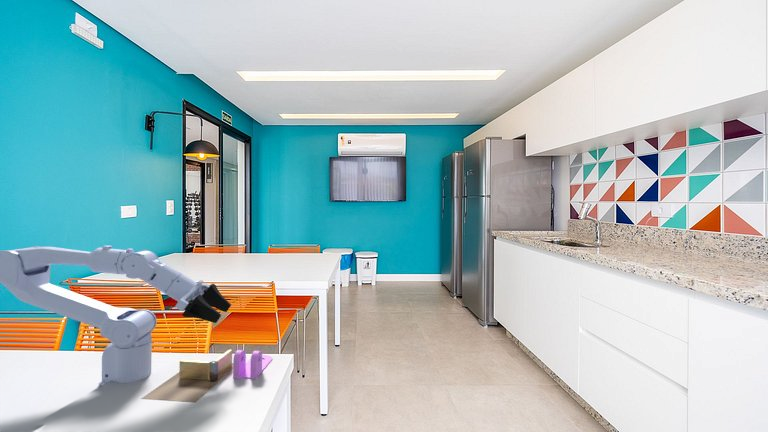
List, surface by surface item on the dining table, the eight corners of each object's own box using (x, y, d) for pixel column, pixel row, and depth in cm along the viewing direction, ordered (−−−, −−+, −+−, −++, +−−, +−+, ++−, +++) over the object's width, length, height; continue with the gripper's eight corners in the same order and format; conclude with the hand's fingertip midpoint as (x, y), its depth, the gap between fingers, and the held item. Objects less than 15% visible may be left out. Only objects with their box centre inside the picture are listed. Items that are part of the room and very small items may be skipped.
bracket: (256, 383, 86) (256, 354, 86) (233, 382, 87) (233, 353, 86) (274, 360, 99) (275, 335, 99) (254, 359, 100) (255, 334, 99)
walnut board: (141, 403, 76) (141, 398, 76) (195, 364, 95) (195, 360, 95) (195, 406, 76) (195, 402, 75) (239, 367, 94) (239, 363, 94)
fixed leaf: (207, 381, 84) (208, 363, 84) (227, 365, 93) (227, 349, 93) (215, 382, 84) (215, 364, 84) (233, 366, 93) (234, 349, 93)
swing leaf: (181, 376, 86) (181, 359, 86) (209, 378, 86) (209, 361, 85) (179, 378, 85) (179, 361, 85) (207, 379, 85) (208, 362, 85)
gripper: (169, 277, 80) (223, 310, 82) (196, 264, 95) (241, 291, 97) (151, 304, 80) (205, 335, 82) (180, 286, 95) (226, 313, 97)
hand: (224, 313), depth 89 cm, fingers open, 7 cm apart
